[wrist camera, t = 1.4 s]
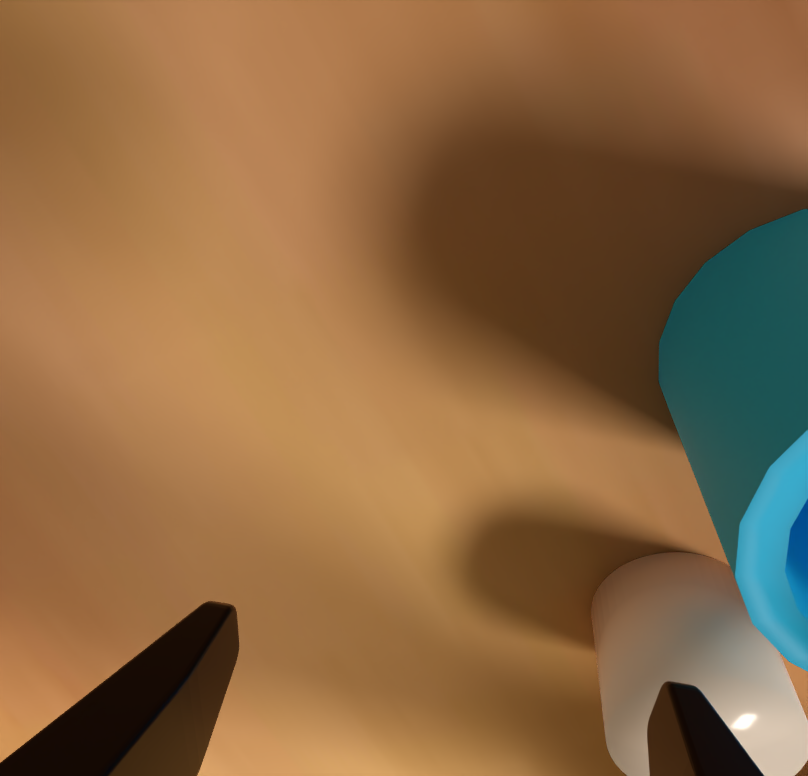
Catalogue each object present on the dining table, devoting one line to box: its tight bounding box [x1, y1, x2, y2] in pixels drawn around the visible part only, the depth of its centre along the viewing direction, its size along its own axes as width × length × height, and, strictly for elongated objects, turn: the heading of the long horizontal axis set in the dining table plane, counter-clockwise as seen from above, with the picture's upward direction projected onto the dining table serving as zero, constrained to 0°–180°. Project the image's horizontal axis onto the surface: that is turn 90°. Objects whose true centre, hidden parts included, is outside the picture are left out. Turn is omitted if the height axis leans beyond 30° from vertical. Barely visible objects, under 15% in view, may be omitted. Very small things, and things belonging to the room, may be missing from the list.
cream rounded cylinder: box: [591, 552, 808, 776], centre depth 22 cm, size 6×6×5 cm
